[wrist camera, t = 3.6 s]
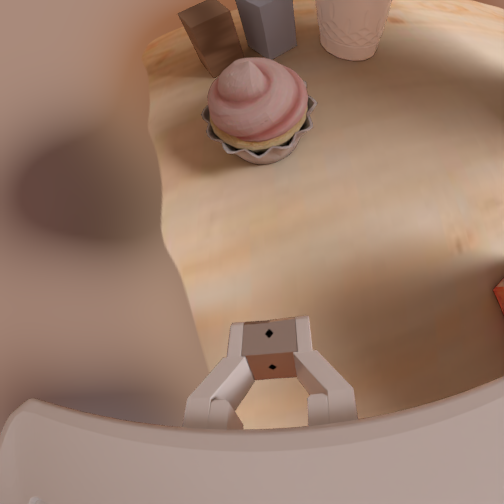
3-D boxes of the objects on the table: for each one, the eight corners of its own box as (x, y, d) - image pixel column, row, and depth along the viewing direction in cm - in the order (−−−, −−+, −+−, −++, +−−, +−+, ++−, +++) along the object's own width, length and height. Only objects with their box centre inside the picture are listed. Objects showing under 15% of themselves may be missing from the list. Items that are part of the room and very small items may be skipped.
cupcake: (336, 147, 25) (348, 75, 15) (248, 200, 25) (216, 146, 16) (279, 83, 27) (267, 10, 17) (201, 128, 27) (160, 64, 17)
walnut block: (230, 46, 29) (213, -3, 21) (245, 62, 28) (229, 10, 20) (200, 60, 29) (177, 13, 21) (213, 78, 28) (190, 28, 20)
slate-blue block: (274, 31, 28) (265, -18, 20) (296, 45, 27) (291, -7, 19) (248, 45, 28) (234, -5, 20) (269, 60, 27) (259, 7, 19)
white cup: (301, 43, 27) (295, -24, 17) (338, 18, 27) (340, -42, 17) (359, 75, 25) (371, 4, 16) (392, 46, 25) (407, -15, 16)
